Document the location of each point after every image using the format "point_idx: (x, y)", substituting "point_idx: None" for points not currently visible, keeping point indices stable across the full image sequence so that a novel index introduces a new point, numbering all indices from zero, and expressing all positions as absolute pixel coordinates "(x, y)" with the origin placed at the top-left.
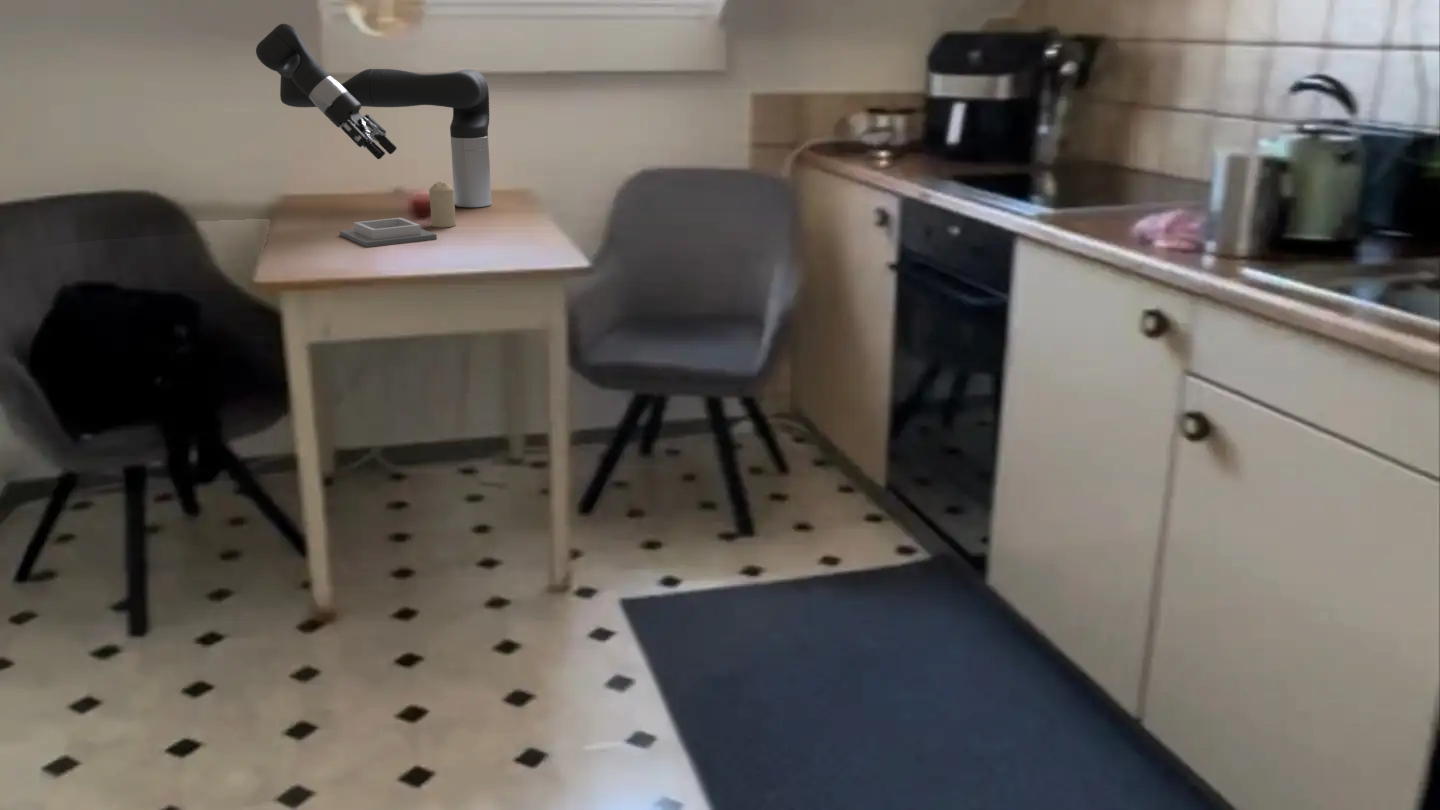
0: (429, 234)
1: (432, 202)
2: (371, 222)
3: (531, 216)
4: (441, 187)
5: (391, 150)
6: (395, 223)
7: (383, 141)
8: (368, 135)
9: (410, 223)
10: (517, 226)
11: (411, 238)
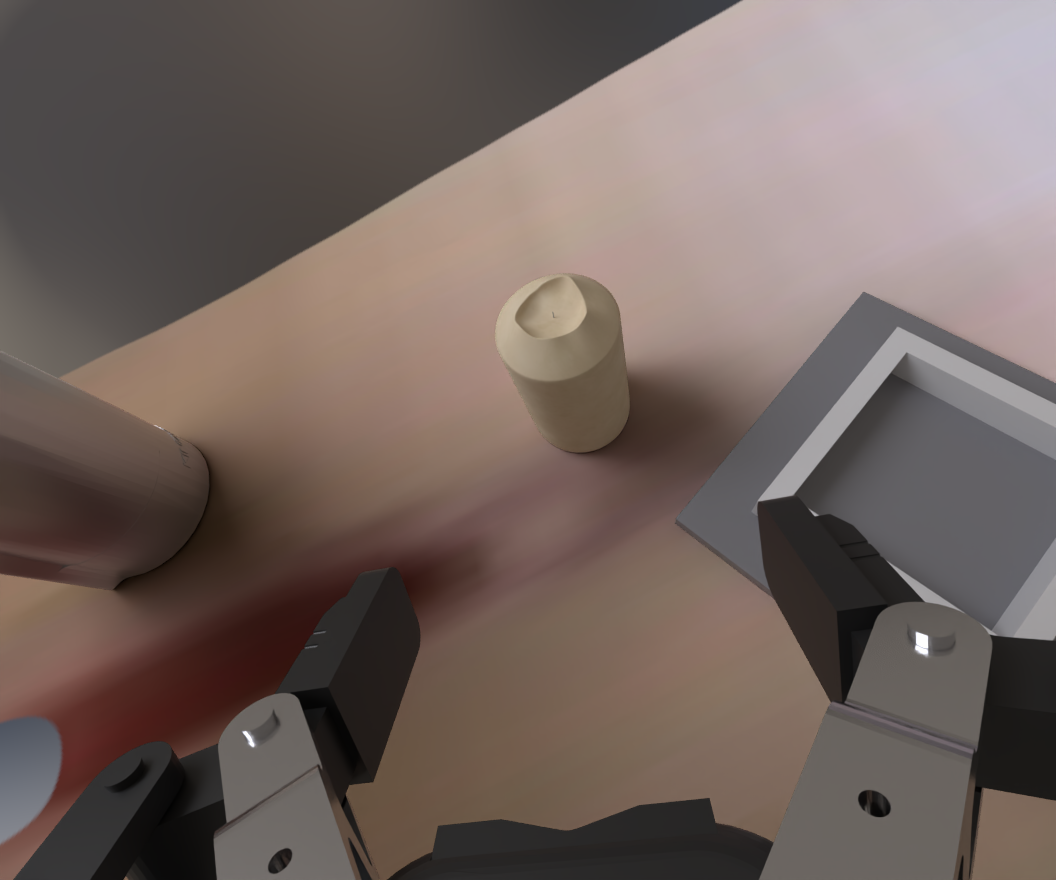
0: (875, 315)
1: (618, 377)
2: (933, 595)
3: (353, 237)
4: (596, 294)
5: (406, 616)
6: None
7: (359, 709)
8: (914, 692)
9: (878, 386)
10: (527, 194)
11: (976, 348)
